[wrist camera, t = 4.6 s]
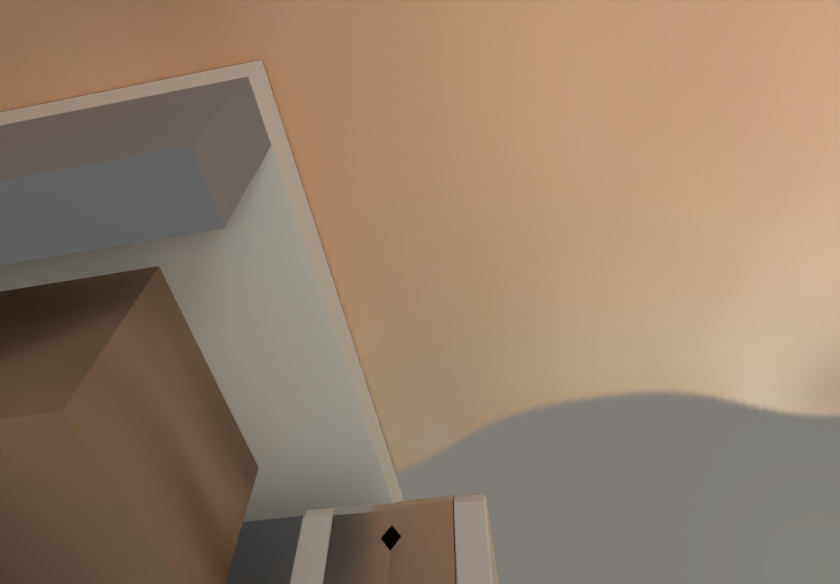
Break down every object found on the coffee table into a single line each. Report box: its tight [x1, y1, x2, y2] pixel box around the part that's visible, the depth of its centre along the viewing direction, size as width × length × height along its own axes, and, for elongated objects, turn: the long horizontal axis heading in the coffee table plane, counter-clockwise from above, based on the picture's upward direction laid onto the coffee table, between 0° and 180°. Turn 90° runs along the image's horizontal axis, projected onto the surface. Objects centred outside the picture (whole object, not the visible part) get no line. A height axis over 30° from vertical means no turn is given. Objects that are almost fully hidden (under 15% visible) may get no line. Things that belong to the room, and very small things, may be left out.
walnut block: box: [0, 266, 259, 584], centre depth 13 cm, size 8×6×4 cm
